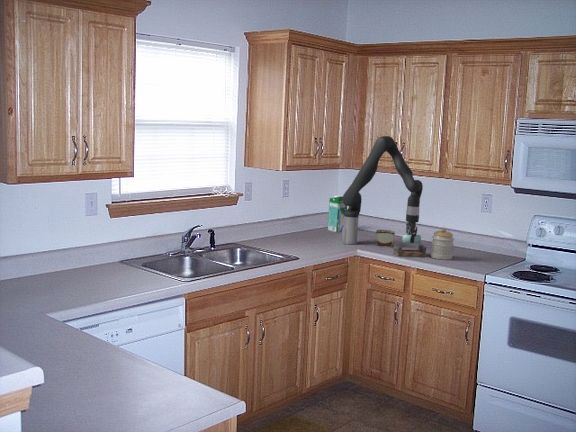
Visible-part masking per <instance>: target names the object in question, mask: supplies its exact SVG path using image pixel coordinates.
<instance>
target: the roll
mask: <svg viewBox="0 0 576 432" xmlns="http://www.w3.org/2000/svg"><path fill="white" fill-rule="evenodd" d="M410 238H411V235H407V234H402V236H401V242H402V243H403V244H411V243H410ZM421 241H422V236H421V234H416V236H415V238H414V243H413V244H421Z"/></svg>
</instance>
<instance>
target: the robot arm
mask: <svg viewBox="0 0 576 432" xmlns="http://www.w3.org/2000/svg"><path fill="white" fill-rule="evenodd" d="M384 153H388V154H389V156H390V157H391V158H392V161H393V165H394V168H395V170H396V172H397V173H398V175H399V176H400V178H401V179H402V181H403V184H404V186H405V188H406V189H407V190H408V191H409V192H410V195H408V198H407V202H406V203H407V204H406V206H407V207H406V212H405V213H406V214H405V222H407V223H406V224H405V225H406V226H405V230H406V231H405V233H406V235H411V238H410V243H409V244H415V243H414V238H415V236H416V235H418V233H417V232H418V226H417V223H419V221H420V203H421V198H422V197H421V196H422V193H423V182H422V181H421V180H419V179H415V178H414V177H413V176H414V173H413V171H412V169H411V168H410V167H409V165H408V164H407V162H406V160H405V159H404V157H403V155H402V154H401V152H400V150H399V148H398V145H397V144H396V141H395V139H394V138H393V137H392V136H389V135H383V136H379V137H378V138H377V139H376V140H375V142H374V144H373V146H372V148H371V150H370V153H369V154H368V156H367V157H366V159H365V161H364V163H363V164H362V165H361V167H360V169H359V171H358V173H357V174H356V176H355V177H354V179H353V181H352V183H351V184H350V185H349V187H348V188H347V190H346V191H345V192H344V194H343V195H342V196H343V203H344V205H346V206H347V210H346V211H345V212H344V225H343V228H342V232H341V244H343V245H344V244H345V245H357V244H358V230H359V215H360V213H361V210H362V209H361V207H362V194H361V193H360V191H361V190H362V189H363V188H365V186H367V184H369V183H370V182H371V180H373V178H374V176H375V175H376V173H377V171H378V167H379V166H378V165H379V161H380V159H381V157H382V156H383V155H384Z"/></svg>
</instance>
